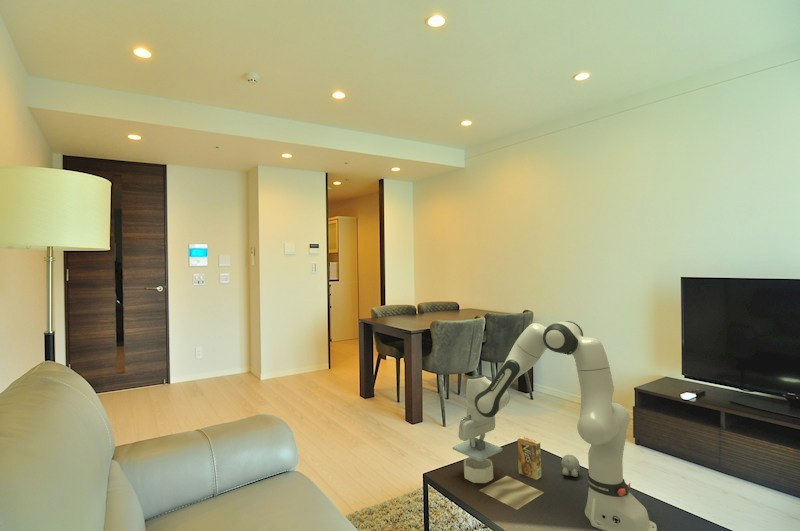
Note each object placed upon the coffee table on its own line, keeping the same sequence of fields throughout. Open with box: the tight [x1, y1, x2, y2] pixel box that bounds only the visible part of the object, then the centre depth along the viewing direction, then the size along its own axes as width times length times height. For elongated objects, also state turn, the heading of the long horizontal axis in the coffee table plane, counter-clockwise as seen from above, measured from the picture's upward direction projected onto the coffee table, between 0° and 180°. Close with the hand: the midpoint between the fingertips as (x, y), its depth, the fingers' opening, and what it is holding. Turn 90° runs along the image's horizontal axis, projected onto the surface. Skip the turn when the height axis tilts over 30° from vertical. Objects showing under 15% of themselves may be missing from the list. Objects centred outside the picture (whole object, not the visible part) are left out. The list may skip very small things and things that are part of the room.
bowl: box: [463, 456, 494, 484], centre depth 181 cm, size 12×12×6 cm
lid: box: [452, 437, 504, 461], centre depth 181 cm, size 15×15×4 cm
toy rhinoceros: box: [561, 454, 581, 478], centre depth 182 cm, size 7×12×8 cm, turn 152°
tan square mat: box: [478, 475, 545, 510], centre depth 168 cm, size 18×18×1 cm
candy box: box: [517, 436, 542, 481], centre depth 181 cm, size 9×4×15 cm, turn 44°
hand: (477, 445), depth 181 cm, fingers closed on lid, 3 cm apart
